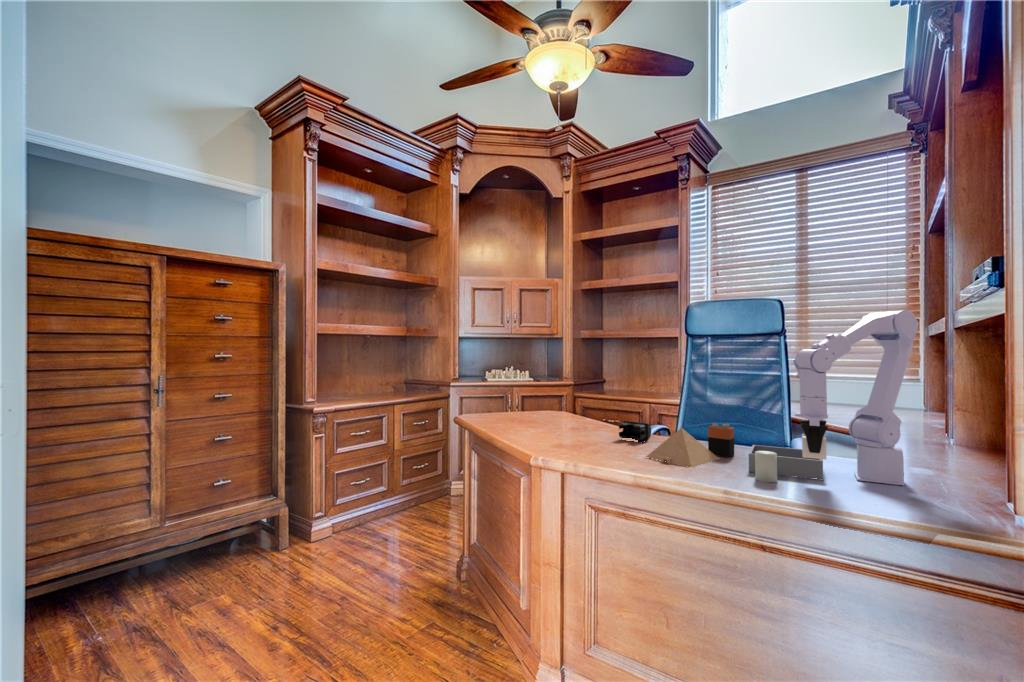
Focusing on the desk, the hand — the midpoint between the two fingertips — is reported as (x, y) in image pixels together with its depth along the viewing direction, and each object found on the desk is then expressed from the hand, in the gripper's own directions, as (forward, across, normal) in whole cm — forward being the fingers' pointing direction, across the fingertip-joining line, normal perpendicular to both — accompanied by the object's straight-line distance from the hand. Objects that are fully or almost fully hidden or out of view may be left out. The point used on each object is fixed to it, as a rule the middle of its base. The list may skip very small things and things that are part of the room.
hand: (814, 450), depth 119 cm
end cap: (+9, -32, -55) cm, 65 cm away
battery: (+9, -22, -24) cm, 34 cm away
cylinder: (+8, +2, -11) cm, 14 cm away
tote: (+8, -11, -7) cm, 15 cm away
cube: (+2, 0, 0) cm, 2 cm away
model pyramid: (+9, -11, -35) cm, 37 cm away
